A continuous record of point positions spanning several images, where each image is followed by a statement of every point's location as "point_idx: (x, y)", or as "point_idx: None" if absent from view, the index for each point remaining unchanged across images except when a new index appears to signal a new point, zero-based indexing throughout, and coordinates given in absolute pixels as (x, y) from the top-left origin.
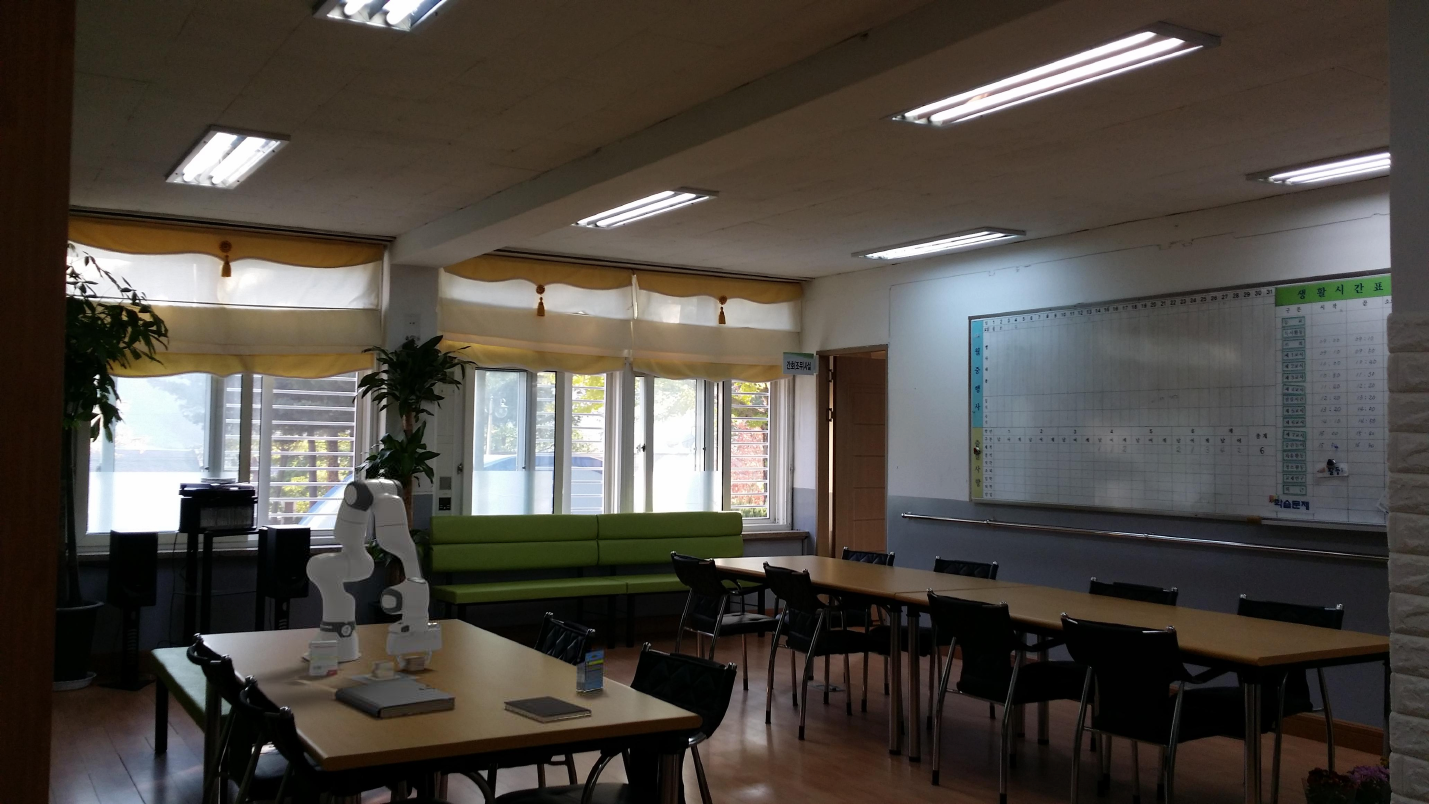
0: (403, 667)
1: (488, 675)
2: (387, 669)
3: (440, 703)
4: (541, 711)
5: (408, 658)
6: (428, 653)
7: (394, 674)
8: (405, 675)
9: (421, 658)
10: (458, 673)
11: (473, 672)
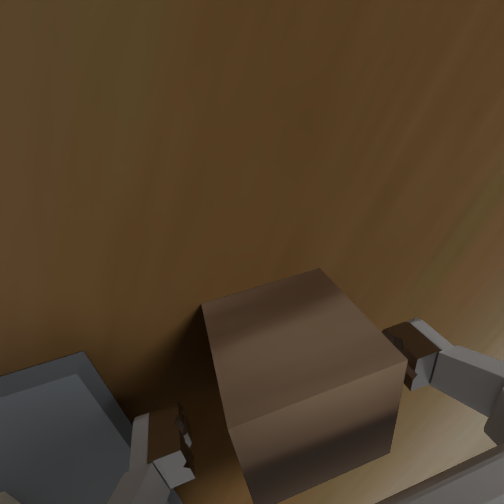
0: (207, 331)
1: (447, 452)
2: None
3: None
4: None
5: (249, 481)
6: (487, 428)
7: (67, 500)
8: None
9: (358, 460)
10: (414, 413)
11: (463, 404)
